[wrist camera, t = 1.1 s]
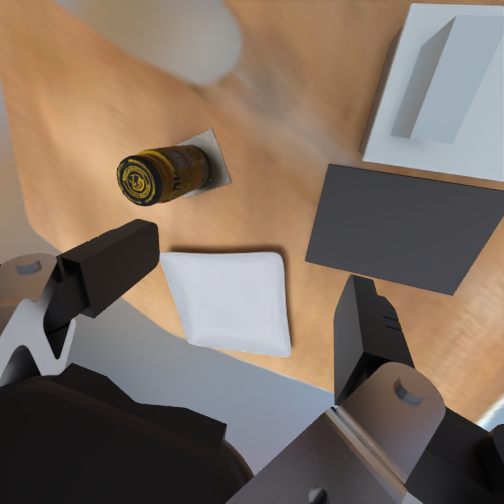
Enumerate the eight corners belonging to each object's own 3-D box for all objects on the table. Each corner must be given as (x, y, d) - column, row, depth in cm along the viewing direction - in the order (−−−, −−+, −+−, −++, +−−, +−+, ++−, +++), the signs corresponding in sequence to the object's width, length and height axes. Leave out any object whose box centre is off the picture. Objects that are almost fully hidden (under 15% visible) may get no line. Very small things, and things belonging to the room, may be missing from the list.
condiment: (163, 150, 36) (97, 160, 26) (212, 128, 33) (158, 129, 22) (184, 198, 39) (131, 224, 28) (231, 182, 35) (191, 205, 25)
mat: (328, 164, 31) (328, 164, 30) (515, 192, 27) (517, 193, 26) (305, 260, 37) (304, 261, 37) (451, 294, 33) (452, 295, 33)
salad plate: (294, 345, 46) (292, 360, 43) (195, 334, 53) (187, 346, 50) (286, 243, 37) (282, 252, 34) (167, 244, 44) (156, 252, 41)
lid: (360, 158, 24) (372, 171, 17) (403, 15, 19) (445, -49, 12) (534, 183, 21) (632, 211, 14) (638, 24, 16) (868, -53, 9)
